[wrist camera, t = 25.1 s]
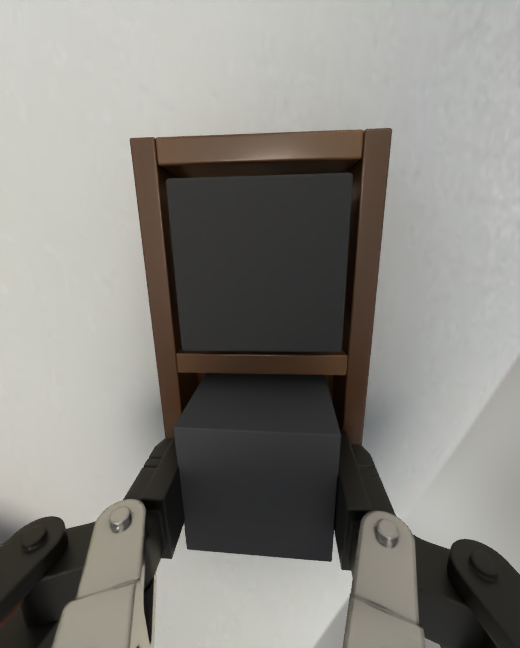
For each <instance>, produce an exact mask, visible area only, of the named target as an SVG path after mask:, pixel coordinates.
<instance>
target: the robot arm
mask: <svg viewBox="0 0 520 648" xmlns="http://www.w3.org/2000/svg"><path fill="white" fill-rule="evenodd" d="M340 434H341V443H340V456H339V469H338V483H337V496H336V509H335V522H334V531H335V537H336V542H337V548H338V553H339V559H340V564H341V569H342V570H351V572H352V576H353V581H352V588H351V594H350V599H349V605H348V613H347V620H346V627H345V634H344V642H343V648H426V647H425V638H427V639H429V640H431V641H433V642H435V643H438V644H439V645H440V647H441V648H520V574H519V573H518V572H517V571H516V570H515V569H514V568H513V567H512V566H511V565H510V564H509V563H508V561H506V560H505V559H504V558H503V557H502V556H501V555H500V554H498V552H496V551H495V550H493V549H492V548H490V547H488V546H487V545H485V544H482V543H480V542H477V541H474V540H469V539H461V540H458V541H456V542H454V543H453V544H452V546H451V549H447V548H444V547H441V546H438V545H435V544H432V543H429V542H427V541H424V540H422V539H420V538H418V537H416V536H415V535H413V534H412V532H411V530H410V529H409V527H408V526H407V525H406V524H405V523H404V522H403V521H402V520H401V519H399V518H398V517H396V515H395V513H394V510H393V508H392V506H391V503H390V501H389V498H388V496H387V493H386V491H385V489H384V486H383V484H382V481H381V479H380V477H379V474H378V472H377V469H376V468H375V465H374V462H373V460H372V457H371V455H370V454H369V453H368V452H367V451H366V450H365V449H364V447H363V446H362V445H358V444H350V441H349V438H348V435H347V432H346V431H345V430H340ZM184 521H185V517H184V508H183V499H182V490H181V481H180V472H179V466H178V464H177V455H176V446H175V437H173V438H165V439H164V440H163V441H161V442H160V443H159V444H158V445H157V446H155V448H154V450H153V451H152V453H151V455H150V456H149V459H148V460H147V461H146V463H145V465H144V468H142V470H141V471H140V473H139V475H138V476H137V478H136V480H135V481H134V483H133V485H132V486H131V488H130V490H129V491H128V493H127V495H126V496H125V498H124V499H123V500H122V501H119V502H117V503H115V504H113V505H111V506H110V507H108V508H107V509H106V510H105V511H103V513H102V514H101V515H100V516H99V517H98V519H97V521H95V522H92V523H89V524H85V525H81V526H76V527H72V528H68V529H66V528H65V524H64V522H63V520H62V519H61V518H59V517H53V516H50V517H44V518H41V519H38V520H35V521H33V522H31V523H29V524H28V525H26V526H24V527H23V528H21V529H20V530H19V531H18V532H16V533H15V534H14V535H13V536H12V537H11V538H10V539H8V540H7V541H6V542H5V543H4V544H3V545H2V546H0V623H1V622H2V621H3V620H4V619H5V618H6V617H7V616H8V615H9V614H10V612H11V611H12V610H13V609H14V608H15V607H16V606H17V605H18V604H19V607H18V608H17V609H16V611H15V612H14V613H13V614H12V615H11V616H10V617H9V618H8V619H7V621H6V622H5V623H4V624H3V625H2V626H1V627H0V648H51V647H52V648H154V631H155V601H156V573H155V572H156V570H157V567H158V564H159V562H160V559H161V558H167V559H172V557H173V554H174V551H175V548H176V545H177V542H178V539H179V536H180V533H181V530H182V527H183V524H184Z"/></svg>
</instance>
